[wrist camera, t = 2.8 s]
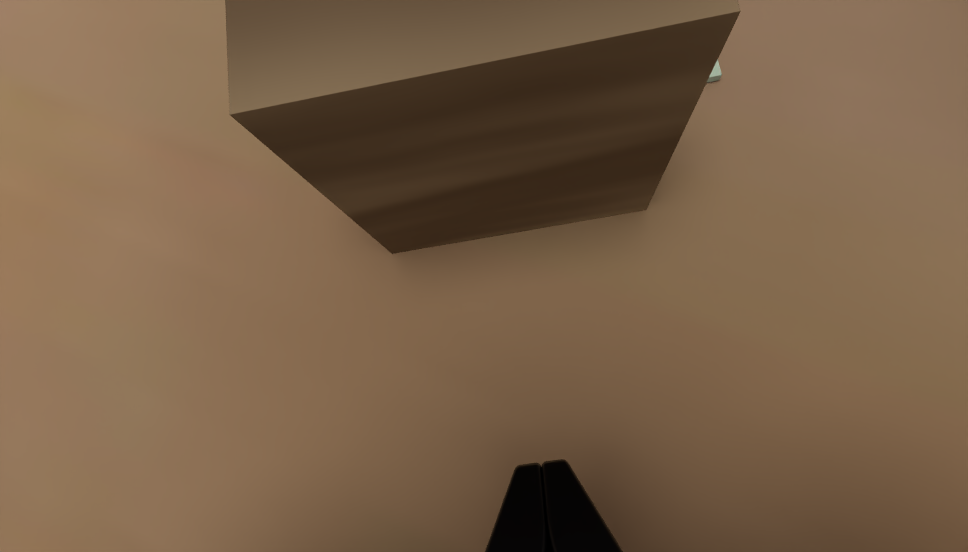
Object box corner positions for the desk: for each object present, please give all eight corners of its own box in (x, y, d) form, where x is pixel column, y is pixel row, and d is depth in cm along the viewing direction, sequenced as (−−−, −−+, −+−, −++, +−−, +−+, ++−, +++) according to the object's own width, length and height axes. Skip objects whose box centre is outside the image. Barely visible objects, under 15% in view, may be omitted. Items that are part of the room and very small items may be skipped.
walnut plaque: (646, 210, 17) (740, 11, 8) (392, 253, 18) (228, 114, 9) (629, 135, 17) (701, -126, 9) (384, 181, 18) (225, -17, 9)
